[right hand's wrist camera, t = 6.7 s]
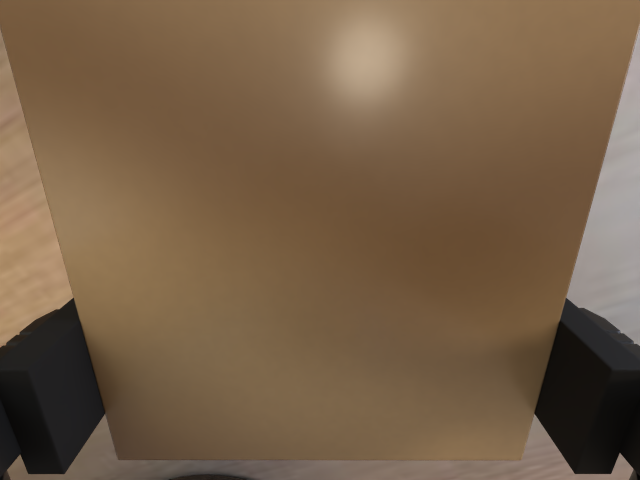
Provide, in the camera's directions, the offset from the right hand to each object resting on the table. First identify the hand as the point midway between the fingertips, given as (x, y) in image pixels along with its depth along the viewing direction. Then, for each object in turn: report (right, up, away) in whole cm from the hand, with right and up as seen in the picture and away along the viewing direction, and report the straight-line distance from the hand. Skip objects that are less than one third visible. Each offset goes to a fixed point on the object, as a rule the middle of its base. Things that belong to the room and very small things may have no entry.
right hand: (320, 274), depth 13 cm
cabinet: (0, +8, +4) cm, 9 cm away
